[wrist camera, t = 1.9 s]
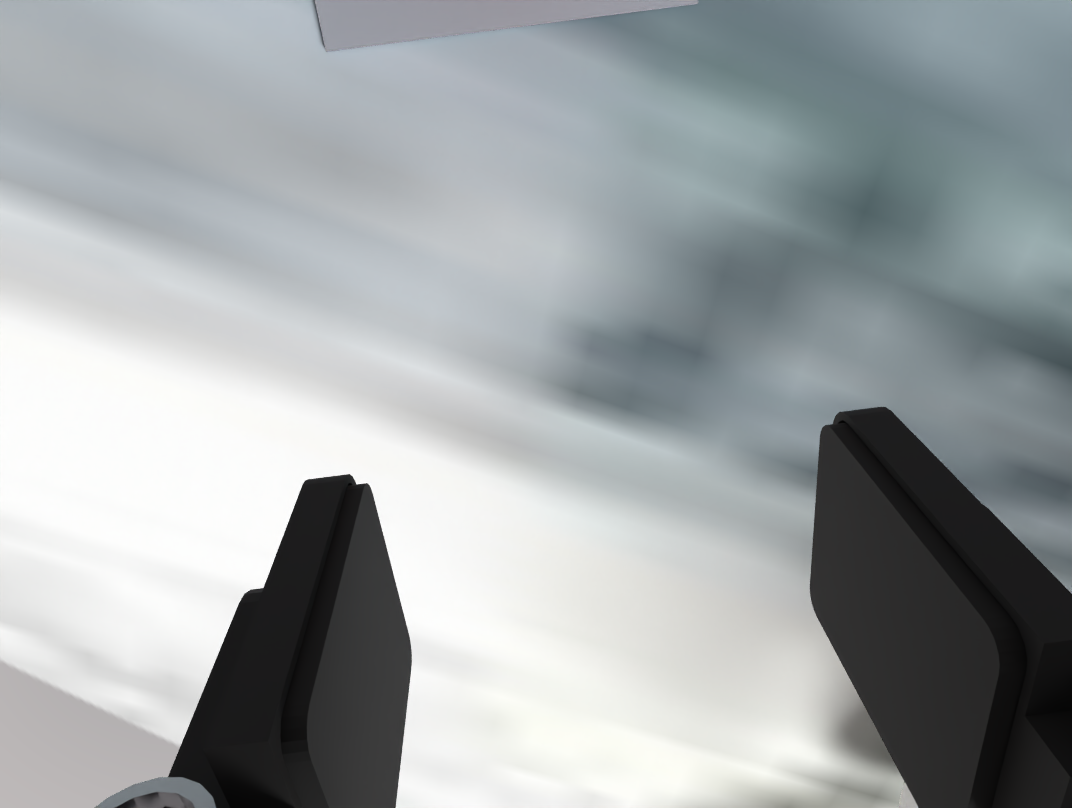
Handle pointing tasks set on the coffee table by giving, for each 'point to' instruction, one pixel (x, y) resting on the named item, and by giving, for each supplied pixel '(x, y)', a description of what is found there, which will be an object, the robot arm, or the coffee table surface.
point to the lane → (454, 17)
